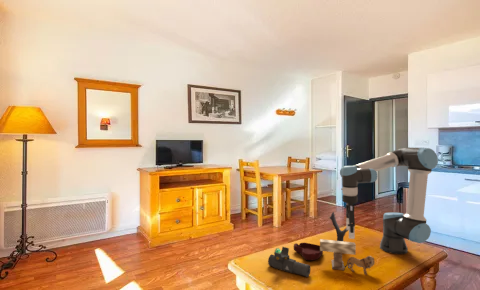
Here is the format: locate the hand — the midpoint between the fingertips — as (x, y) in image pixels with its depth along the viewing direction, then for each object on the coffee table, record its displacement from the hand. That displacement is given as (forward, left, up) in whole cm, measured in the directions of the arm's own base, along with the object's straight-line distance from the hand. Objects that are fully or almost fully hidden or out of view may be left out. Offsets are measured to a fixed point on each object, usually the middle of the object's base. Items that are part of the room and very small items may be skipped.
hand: (350, 234), depth 145 cm
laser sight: (+32, +13, -18) cm, 39 cm away
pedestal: (+6, 0, -18) cm, 19 cm away
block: (+7, 0, -10) cm, 12 cm away
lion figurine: (-4, +3, -18) cm, 19 cm away
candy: (+37, -2, -19) cm, 42 cm away
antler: (+4, -21, -18) cm, 28 cm away
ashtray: (+21, -10, -19) cm, 30 cm away
